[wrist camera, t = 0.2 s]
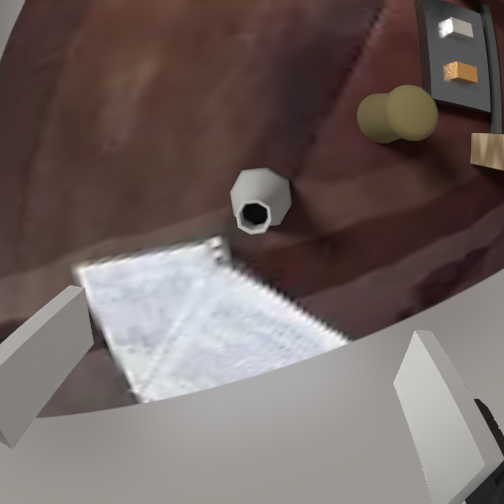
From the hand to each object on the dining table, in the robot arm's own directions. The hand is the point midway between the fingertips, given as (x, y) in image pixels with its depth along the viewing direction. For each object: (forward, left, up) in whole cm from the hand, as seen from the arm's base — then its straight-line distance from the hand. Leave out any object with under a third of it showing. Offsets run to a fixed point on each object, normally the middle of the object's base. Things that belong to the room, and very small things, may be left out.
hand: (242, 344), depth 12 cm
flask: (-1, -1, -28) cm, 28 cm away
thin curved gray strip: (-21, +30, -28) cm, 46 cm away
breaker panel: (-21, +23, -28) cm, 41 cm away
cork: (-11, +13, -28) cm, 32 cm away
